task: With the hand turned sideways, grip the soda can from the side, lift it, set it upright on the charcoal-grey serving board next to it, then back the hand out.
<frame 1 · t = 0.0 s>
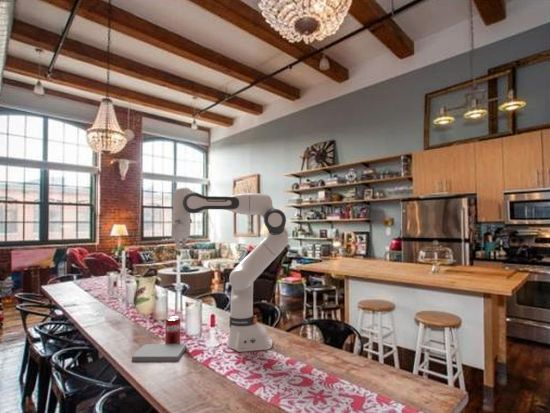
hand: (180, 247, 162), 48 cm above the table, tool pointing down, fingers open, 8 cm apart
soda can: (172, 342, 163), on the table
serving board: (160, 354, 148), on the table
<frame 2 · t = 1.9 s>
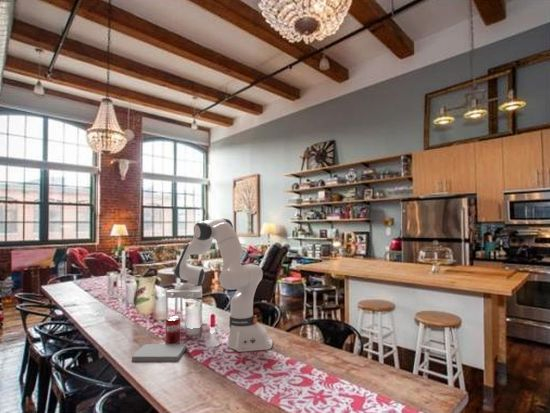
hand: (180, 296, 177), 20 cm above the table, tool horizontal, fingers open, 8 cm apart
nothing on the table moved.
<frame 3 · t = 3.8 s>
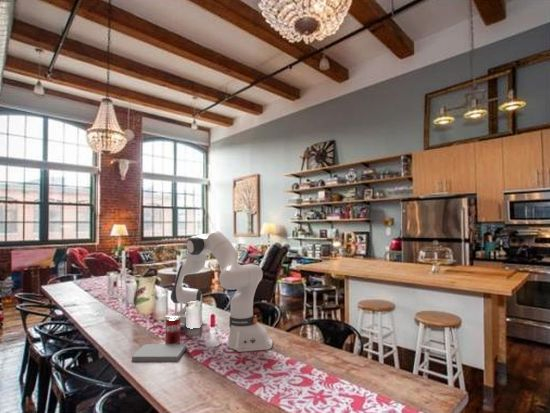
hand: (179, 322, 174), 6 cm above the table, tool horizontal, fingers open, 8 cm apart
nothing on the table moved.
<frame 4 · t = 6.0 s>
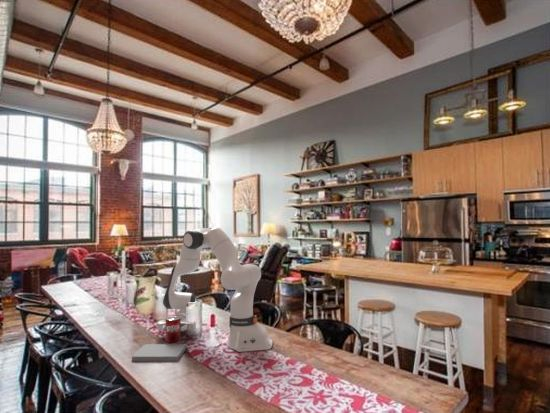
hand: (172, 329, 163), 7 cm above the table, tool horizontal, fingers closed on soda can, 7 cm apart
soda can: (172, 342, 163), on the table, touching gripper
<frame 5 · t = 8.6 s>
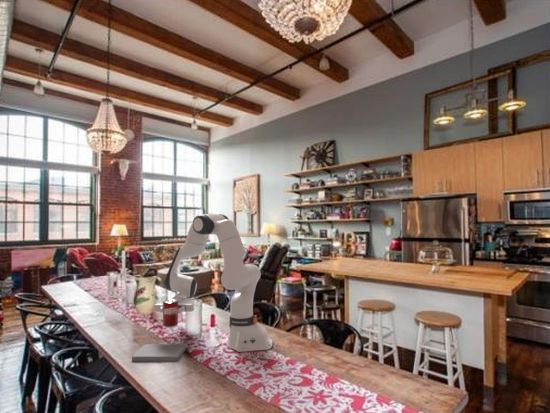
hand: (170, 310, 160), 17 cm above the table, tool horizontal, fingers closed on soda can, 7 cm apart
soda can: (170, 325, 161), point 9 cm above the table, touching gripper
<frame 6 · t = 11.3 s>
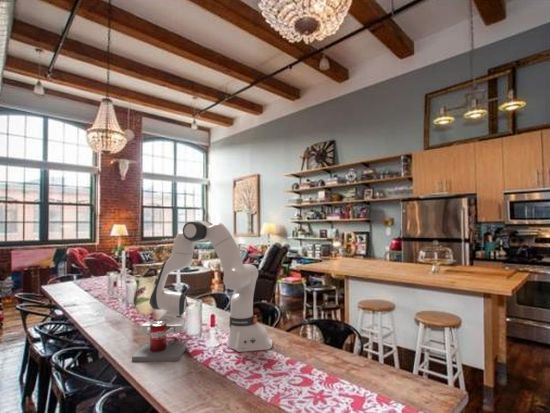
hand: (157, 332, 148), 10 cm above the table, tool horizontal, fingers closed on soda can, 7 cm apart
soda can: (158, 350, 148), point 2 cm above the table, touching gripper, serving board
when the fingers open (10 cm above the table, at t = 11.8 s): soda can stays where it is, resting on serving board.
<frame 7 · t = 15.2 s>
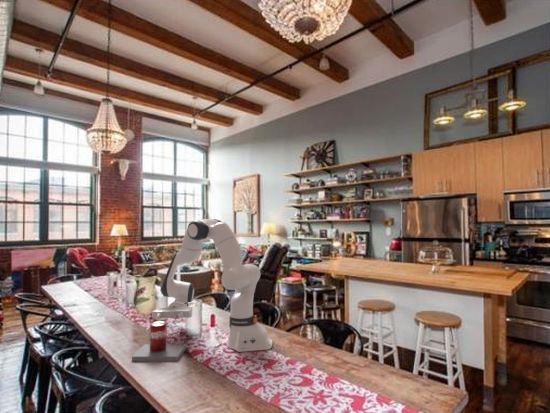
hand: (167, 317, 161), 13 cm above the table, tool horizontal, fingers open, 8 cm apart
soda can: (158, 350, 148), point 2 cm above the table, touching serving board
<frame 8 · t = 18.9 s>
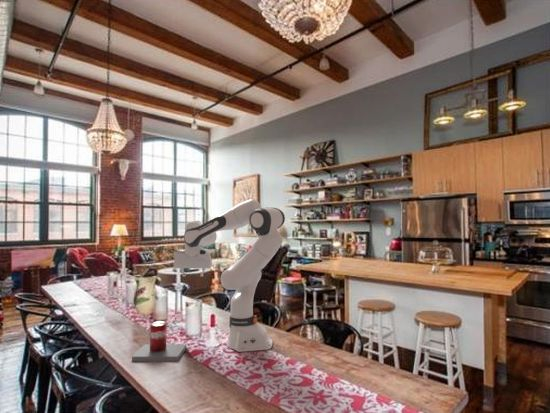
hand: (192, 276, 176), 31 cm above the table, tool pointing down, fingers open, 8 cm apart
nothing on the table moved.
at the end: soda can inside the target area on the serving board (1.2 cm from its centre), point 1.8 cm above the serving board's base; soda can tilted 0°; the gripper is holding nothing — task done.
